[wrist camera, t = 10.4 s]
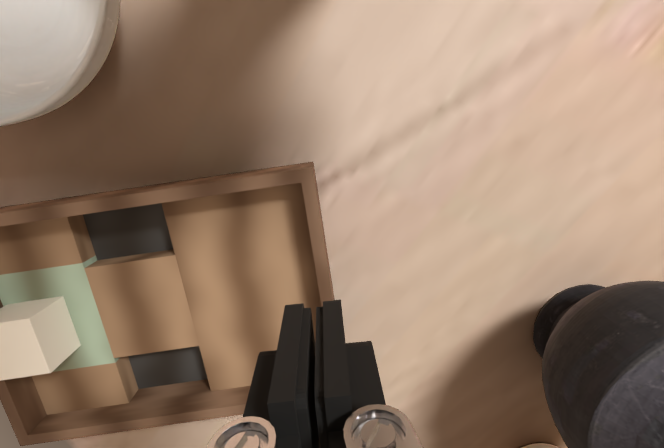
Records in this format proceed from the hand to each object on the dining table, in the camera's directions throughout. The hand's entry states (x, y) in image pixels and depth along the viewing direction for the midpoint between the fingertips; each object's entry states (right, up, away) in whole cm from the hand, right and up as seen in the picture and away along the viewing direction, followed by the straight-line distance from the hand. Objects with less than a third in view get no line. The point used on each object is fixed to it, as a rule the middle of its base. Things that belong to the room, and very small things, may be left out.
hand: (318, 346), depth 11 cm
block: (-26, -5, +23) cm, 35 cm away
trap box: (-15, -3, +25) cm, 29 cm away
